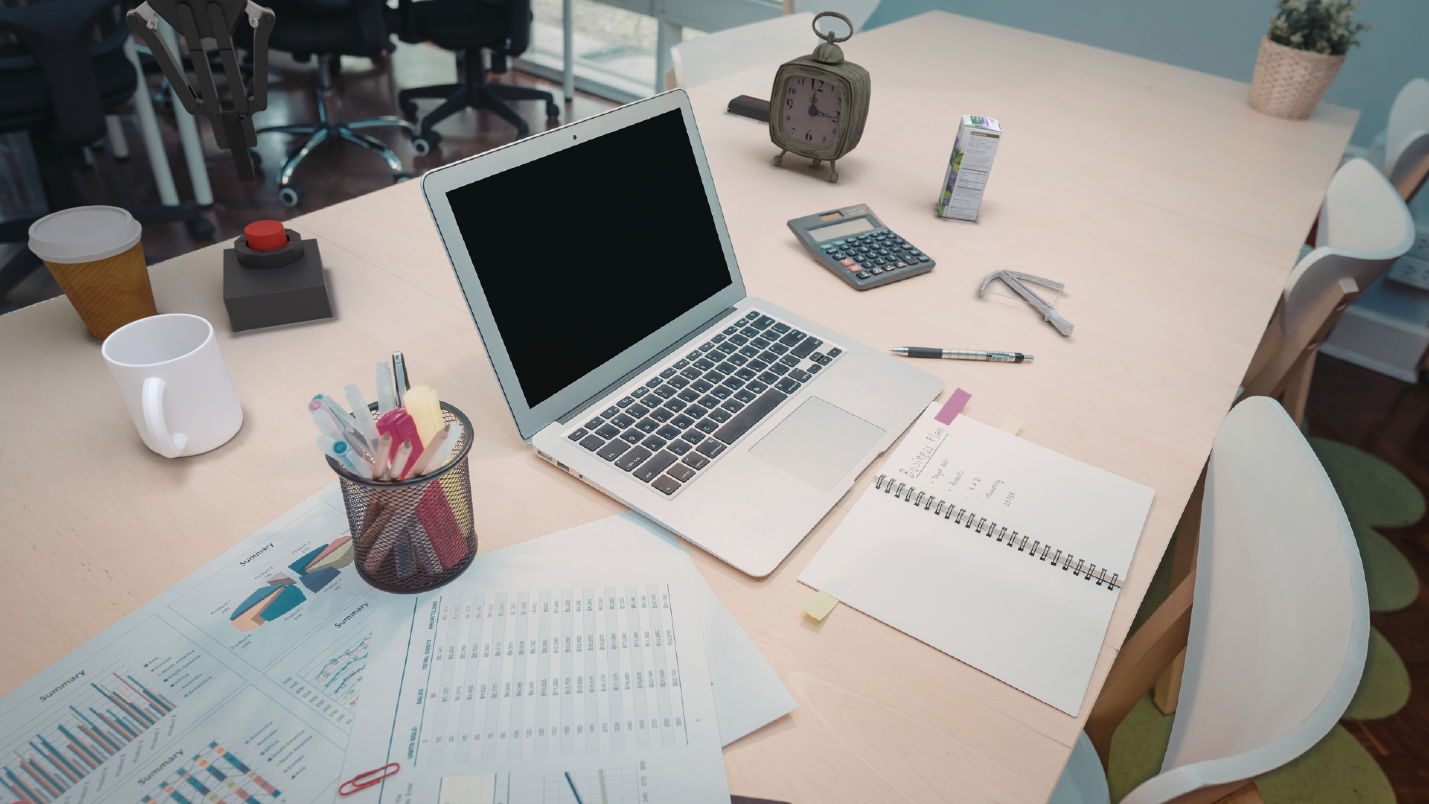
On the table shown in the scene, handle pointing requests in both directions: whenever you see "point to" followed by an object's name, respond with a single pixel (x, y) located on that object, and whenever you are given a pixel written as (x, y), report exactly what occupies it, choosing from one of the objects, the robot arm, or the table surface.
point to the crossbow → (1033, 295)
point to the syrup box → (969, 167)
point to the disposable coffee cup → (97, 264)
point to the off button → (265, 235)
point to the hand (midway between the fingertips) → (247, 175)
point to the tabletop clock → (819, 102)
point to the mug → (174, 383)
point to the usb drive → (750, 107)
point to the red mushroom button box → (274, 284)
